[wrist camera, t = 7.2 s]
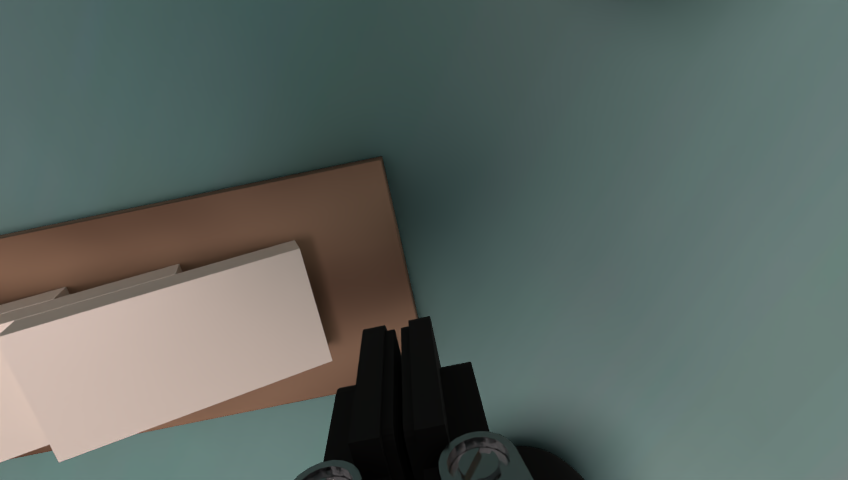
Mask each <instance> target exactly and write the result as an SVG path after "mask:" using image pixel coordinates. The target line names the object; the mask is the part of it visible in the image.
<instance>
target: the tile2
mask: <svg viewBox="0 0 848 480" xmlns="http://www.w3.org/2000/svg"><path fill="white" fill-rule="evenodd" d="M181 272H182V270H181V267H180V264H176V265H172V266H169V267H165V268H162V269H158V270H155V271H151V272H148V273H144V274H141V275H137V276H134V277H130V278H126V279H123V280H119V281H116V282H112V283H109V284H105V285H102V286H98V287H95V288H91V289H88V290H84V291H81V292H77V293H74V294H70V295H66V296H63V297H59V298H56V299H52V300H49V301H45V302H42V303H38V304H35V305H31V306H28V307H24V308H21V309H17V310H13V311H10V312H6V313H3V314H0V333H1V332H2V331H3V330H5V329H6V328H7V327H8V326H9V325H10V324H11V323H12V322H13V321H15V320H18V319H22V318H25V317H29V316H32V315H36V314H39V313H43V312H46V311H50V310H53V309H57V308H60V307H63V306H67V305H70V304H74V303H77V302H81V301H84V300H88V299H91V298H95V297H98V296H102V295H105V294H109V293H112V292H116V291H119V290H122V289H126V288H129V287H133V286H136V285H140V284H143V283H147V282H150V281H154V280H157V279H161V278H164V277H168V276H171V275H175V274H178V273H181ZM47 445H50V444H49V443H48V441H47V439H46V437H45V435H44V433H43V431H42V429H41V427H40V425H39V423H38V421H37V419H36V417H35V415H34V413H33V411H32V409H31V407H30V405H29V404H28V402H27V400H26V398H25V396H24V394H23V392H22V390H21V388H20V386H19V384H18V382H17V380H16V378H15V376H14V374H13V372H12V370H11V368H10V367H9V365H8V363H7V361H6V359H5V357H4V355H3V353H2V351H1V349H0V462H3V461H5V460H8V459H11V458H14V457H16V456H19V455H22V454H25V453H27V452H30V451H33V450H36V449H39V448H41V447H44V446H47Z"/></svg>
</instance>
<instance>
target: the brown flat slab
mask: <svg viewBox="0 0 848 480" xmlns="http://www.w3.org/2000/svg"><path fill="white" fill-rule="evenodd" d="M293 240H295V242H296V243H297V245H298V246H299V248H300V251H301V255H302V258H303V262H304V265H305V268H306V272H307V275H308V279H309V282H310V286H311V289H312V292H313V296H314V299H315V303H316V306H317V310H318V313H319V316H320V320H321V323H322V327H323V330H324V334H325V337H326V341H327V344H328V347H329V351H330V354H331V358H332V361H331V362H328V363H326V364H323V365H320V366H317V367H315V368H312V369H309V370H307V371H304V372H301V373H299V374H296V375H293V376H291V377H288V378H285V379H282V380H280V381H277V382H274V383H272V384H269V385H266V386H264V387H261V388H258V389H255V390H253V391H250V392H247V393H245V394H242V395H239V396H237V397H234V398H231V399H229V400H226V401H223V402H220V403H218V404H215V405H212V406H210V407H207V408H204V409H202V410H199V411H196V412H194V413H191V414H188V415H185V416H183V417H180V418H177V419H175V420H172V421H169V422H167V423H164V424H161V425H159V426H156V427H153V428H150V429H148V430H145V431H142V432H140V433H143V432H148V431H153V430H158V429H163V428H168V427H173V426H178V425H183V424H188V423H193V422H198V421H203V420H208V419H213V418H218V417H223V416H228V415H233V414H238V413H243V412H248V411H253V410H258V409H263V408H268V407H273V406H278V405H283V404H288V403H293V402H298V401H303V400H308V399H313V398H318V397H323V396H328V395H333V394H336V393H337V389H339V388H341V387H346V386H351V385H356V378H357V371H358V363H359V355H360V347H361V340H362V332H363V329H368V328H373V327H378V326H383V325H385V326H386V328H387V331H388V330H393V329H395V332H396V335H397V339H398V344H399V348H400V352H401V328H403V327H407V326H408V320H413V319H418V315H417V310H416V306H415V301H414V297H413V292H412V288H411V283H410V279H409V274H408V270H407V265H406V261H405V256H404V252H403V248H402V243H401V239H400V234H399V230H398V225H397V221H396V216H395V212H394V207H393V203H392V198H391V194H390V190H389V185H388V181H387V176H386V172H385V167H384V163H383V158H382V156H380V157H376V158H371V159H366V160H361V161H356V162H352V163H347V164H342V165H337V166H332V167H327V168H323V169H318V170H313V171H308V172H303V173H299V174H294V175H289V176H284V177H279V178H274V179H270V180H265V181H260V182H255V183H250V184H245V185H241V186H236V187H231V188H226V189H221V190H217V191H212V192H207V193H202V194H197V195H192V196H188V197H183V198H178V199H173V200H168V201H164V202H159V203H154V204H149V205H144V206H139V207H135V208H130V209H125V210H120V211H115V212H111V213H106V214H101V215H96V216H91V217H86V218H82V219H77V220H72V221H67V222H62V223H58V224H53V225H48V226H43V227H38V228H33V229H29V230H24V231H19V232H14V233H9V234H5V235H0V305H2V304H6V303H9V302H13V301H16V300H20V299H24V298H27V297H31V296H34V295H38V294H42V293H45V292H49V291H52V290H56V289H60V288H63V287H67V290H68V292H69V294H74V293H77V292H81V291H84V290H88V289H91V288H95V287H98V286H102V285H105V284H109V283H112V282H116V281H119V280H123V279H126V278H130V277H134V276H137V275H141V274H144V273H148V272H151V271H155V270H158V269H162V268H165V267H169V266H172V265H176V264H180V267H181V270H182V272H185V271H188V270H192V269H195V268H199V267H202V266H206V265H209V264H213V263H216V262H220V261H223V260H227V259H230V258H234V257H237V256H240V255H244V254H247V253H251V252H254V251H258V250H261V249H265V248H268V247H272V246H275V245H279V244H282V243H286V242H289V241H293ZM137 434H138V433H137ZM48 451H53V450H52V448H51V446H50V445H47V446H44V447H41V448H39V449H36V450H33V451H30V452H27V453H25V454H22V455H19V456H16V457H14V458H18V457H23V456H28V455H33V454H38V453H43V452H48ZM11 459H13V458H11Z"/></svg>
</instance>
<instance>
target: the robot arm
mask: <svg viewBox="0 0 848 480" xmlns="http://www.w3.org/2000/svg"><path fill="white" fill-rule="evenodd" d="M294 480H543V479H541V478H539V477H537V476H534V475H532V474H530V472H529V470H528V469H527V467H526V465H525V463H524V461H523V460H522V458H521V456H520V454H519V452H518V451H517V449H516V447H515V446H514V445H513V444H512V442H511V441H510V440H509V439H507V438H505V437H504V436H502V435H500V434H497V433H493V432H489V429H488V425H487V421H486V417H485V414H484V410H483V406H482V402H481V398H480V394H479V391H478V387H477V383H476V379H475V375H474V372H473V368H472V364H471V362H466V363H461V364H456V365H451V366H446V367H441V365H440V360H439V356H438V351H437V346H436V342H435V337H434V332H433V328H432V323H431V319H430V316H428V317H423V318H418V319H413V320H408V326H407V327H403V328H401V352H400V348H399V344H398V339H397V335H396V332H395V329H393V330H388V331H387V328H386V326H385V325H383V326H378V327H373V328H368V329H363V332H362V340H361V347H360V355H359V363H358V371H357V378H356V385H351V386H346V387H341V388H339V389H337V393H336V397H335V403H334V408H333V413H332V419H331V424H330V429H329V435H328V440H327V445H326V451H325V456H324V461H323V462H321V463H319V464H316V465H314V466H312V467H310V468H308V469H307V470H305V471H304V472H302V473H301V474H299V475H298V476H297V477H296V478H295V479H294Z"/></svg>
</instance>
